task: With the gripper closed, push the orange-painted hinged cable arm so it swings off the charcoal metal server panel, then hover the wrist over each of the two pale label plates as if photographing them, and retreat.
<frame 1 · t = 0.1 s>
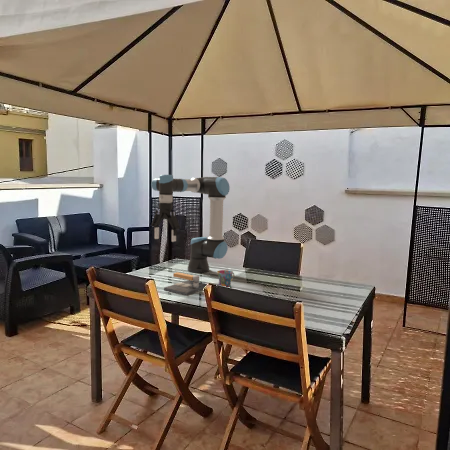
hand: (165, 240, 217), 28 cm above the table, fingers open, 13 cm apart
cable arm: (186, 276, 221), point 7 cm above the table, hinge at 0.0°
server panel: (187, 288, 221), on the table
mug: (226, 289, 222), on the table
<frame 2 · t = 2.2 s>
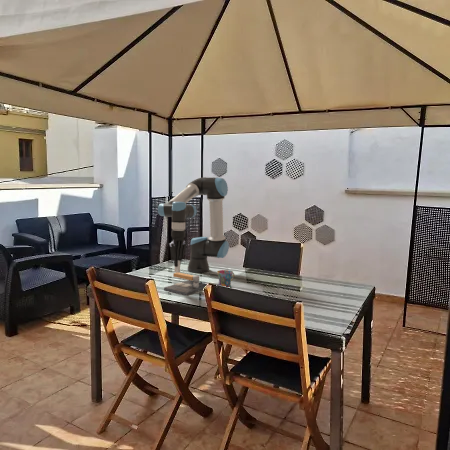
hand: (177, 272, 214), 11 cm above the table, fingers closed
nothing on the table moved.
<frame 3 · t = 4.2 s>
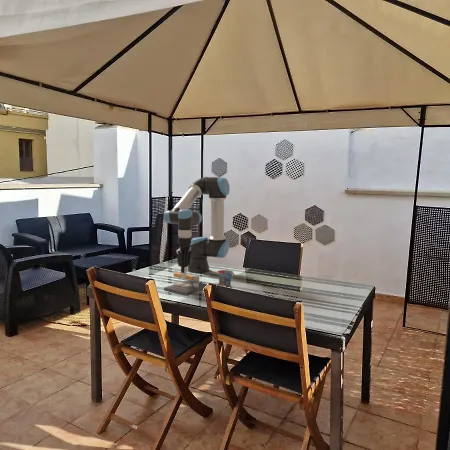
hand: (183, 278, 219), 6 cm above the table, fingers closed
cable arm: (186, 276, 221), point 7 cm above the table, hinge at 0.7°, touching gripper
everything else where it was.
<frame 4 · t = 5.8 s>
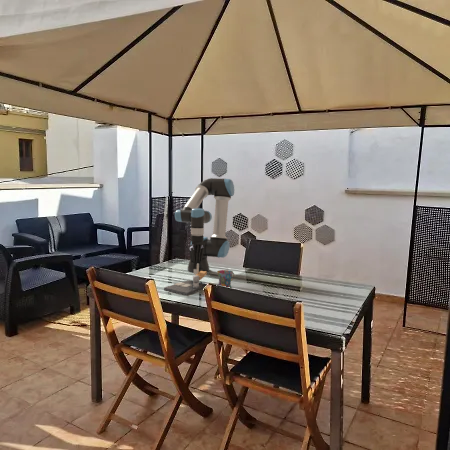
hand: (196, 274, 229), 7 cm above the table, fingers closed
cable arm: (199, 276, 224), point 7 cm above the table, hinge at 68.8°, touching gripper
everything else where it was.
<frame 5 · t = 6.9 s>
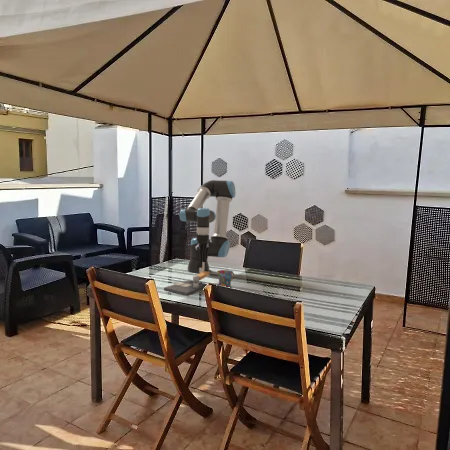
hand: (201, 272, 233), 7 cm above the table, fingers closed
cable arm: (200, 276, 224), point 7 cm above the table, hinge at 75.5°, touching gripper
everything else where it was.
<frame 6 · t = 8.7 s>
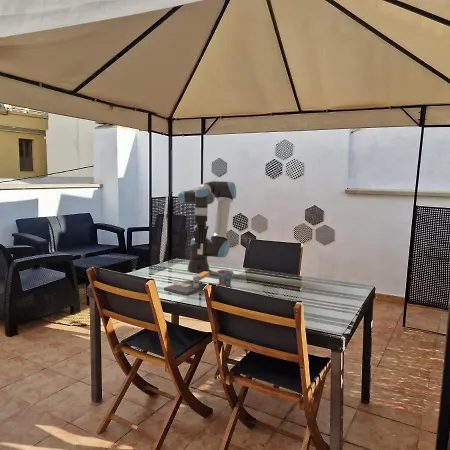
hand: (200, 254, 230), 18 cm above the table, fingers closed
cable arm: (200, 276, 224), point 7 cm above the table, hinge at 75.7°
everything else where it was.
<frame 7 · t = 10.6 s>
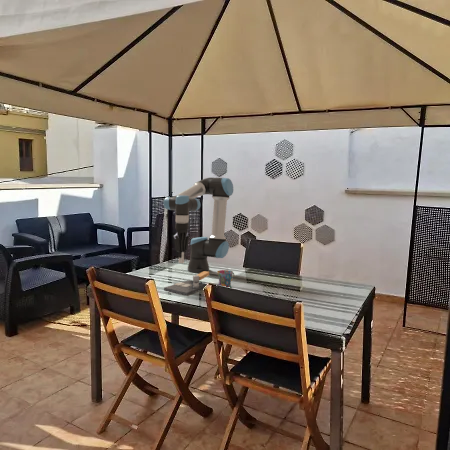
hand: (181, 262, 223), 14 cm above the table, fingers closed
nothing on the table moved.
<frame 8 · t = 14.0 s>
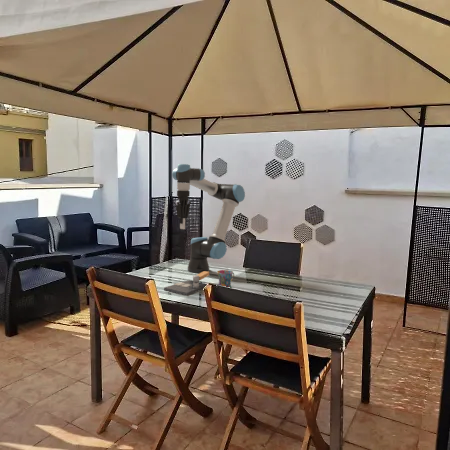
hand: (182, 228, 235), 32 cm above the table, fingers closed
nothing on the table moved.
at the end: cable arm at +76° (first picture: +0°) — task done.
